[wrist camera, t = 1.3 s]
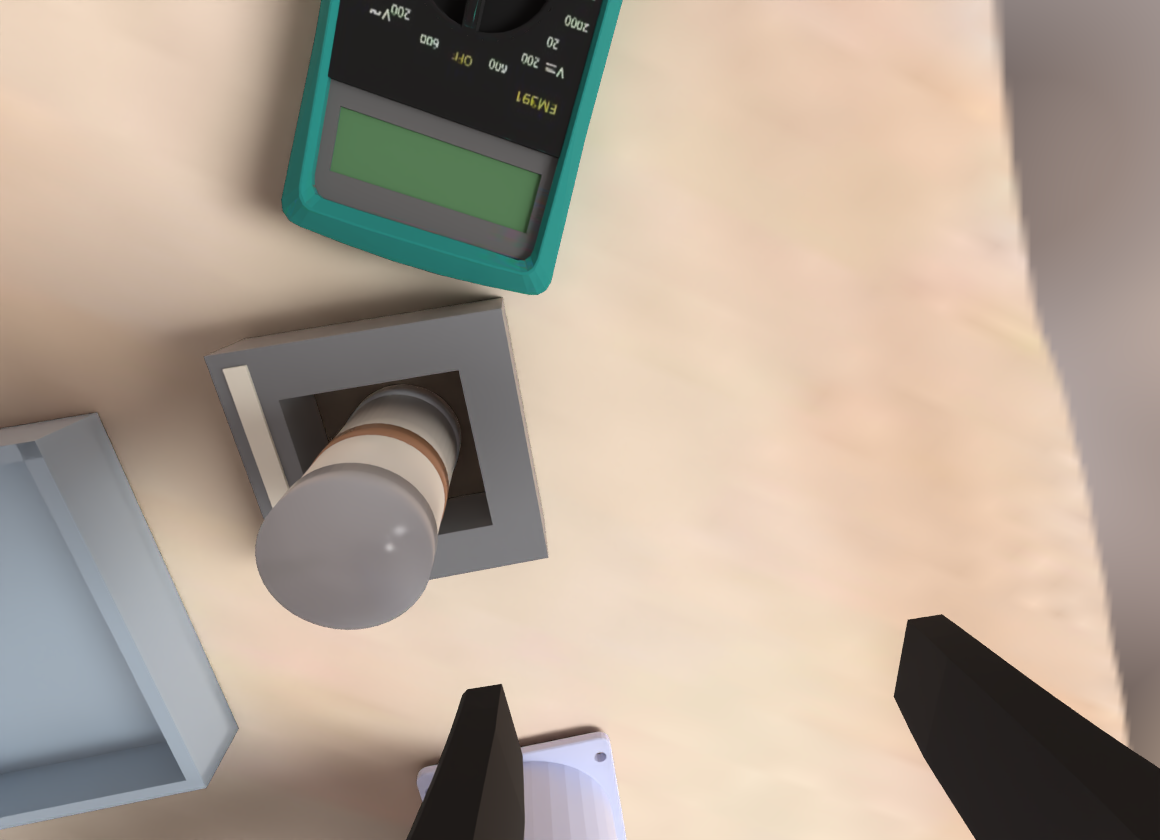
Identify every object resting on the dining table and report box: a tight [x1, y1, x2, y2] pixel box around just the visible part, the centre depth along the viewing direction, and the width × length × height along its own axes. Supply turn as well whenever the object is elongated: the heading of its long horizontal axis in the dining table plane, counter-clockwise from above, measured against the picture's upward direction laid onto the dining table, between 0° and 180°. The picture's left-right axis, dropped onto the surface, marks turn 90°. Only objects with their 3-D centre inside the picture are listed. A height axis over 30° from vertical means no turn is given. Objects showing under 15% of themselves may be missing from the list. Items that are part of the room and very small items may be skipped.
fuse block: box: [204, 298, 548, 580], centre depth 18 cm, size 8×8×3 cm
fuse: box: [255, 384, 461, 630], centre depth 16 cm, size 4×4×8 cm
